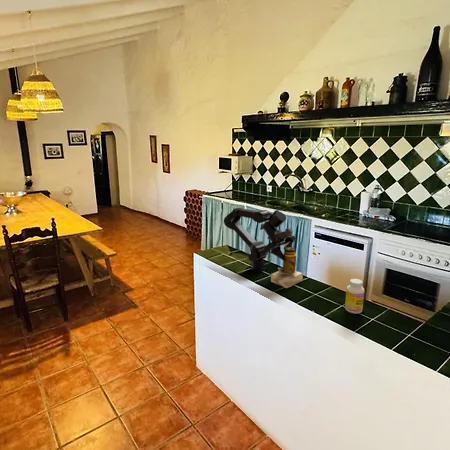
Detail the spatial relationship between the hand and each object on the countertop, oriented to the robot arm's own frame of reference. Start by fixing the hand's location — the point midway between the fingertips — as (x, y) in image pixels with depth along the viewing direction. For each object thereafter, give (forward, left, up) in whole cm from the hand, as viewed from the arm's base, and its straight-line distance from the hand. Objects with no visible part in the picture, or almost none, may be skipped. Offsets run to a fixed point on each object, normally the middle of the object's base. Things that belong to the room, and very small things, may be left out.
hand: (289, 258), depth 154 cm
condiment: (-1, -1, -7) cm, 7 cm away
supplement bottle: (+35, -2, -12) cm, 37 cm away
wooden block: (-1, 0, -12) cm, 12 cm away
